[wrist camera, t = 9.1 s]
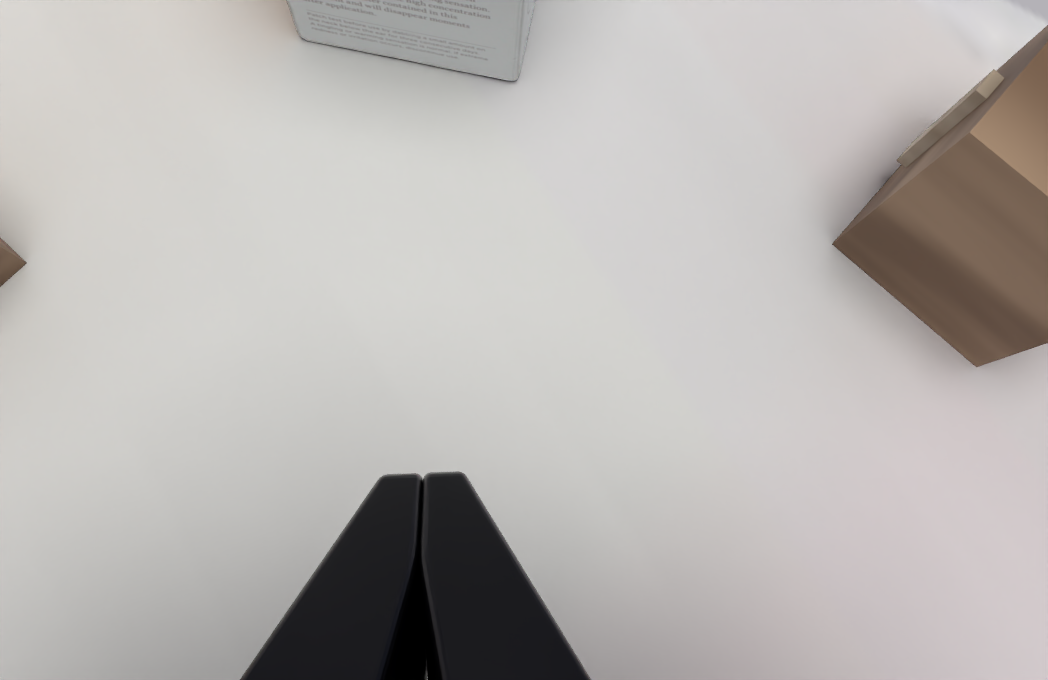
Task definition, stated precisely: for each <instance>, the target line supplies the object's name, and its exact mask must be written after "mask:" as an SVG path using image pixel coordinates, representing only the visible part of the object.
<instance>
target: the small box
mask: <svg viewBox="0 0 1048 680" xmlns="http://www.w3.org/2000/svg"><path fill="white" fill-rule="evenodd" d="M286 1H287V3H288V6H289V8H290V12H291V15H292V18H293V21H294V24H295V27H296V29H297V32H298V34H299V36H300V37H302V38H304V39H305V40H306V41H311V42H317V43H322V44H327V45H332V46H337V47H343V48H348V49H353V50H358V51H362V52H367V53H372V54H378V55H383V56H388V57H393V58H398V59H403V60H408V61H413V62H418V63H422V64H427V65H432V66H436V67H441V68H446V69H452V70H457V71H462V72H467V73H472V74H478V75H483V76H488V77H493V78H498V79H503V80H509V81H516V80H517V79H518V77H519V74H520V70H521V65H522V61H523V57H524V52H525V48H526V43H527V39H528V34H529V29H530V25H531V20H532V15H533V10H534V5H535V1H536V0H286Z"/></svg>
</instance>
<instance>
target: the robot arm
mask: <svg viewBox="0 0 1048 680" xmlns="http://www.w3.org/2000/svg"><path fill="white" fill-rule="evenodd" d="M427 677H428V680H591V679H590V677H589V676H588V674H587V672H586V671H585V669H584V667H583V666H582V664H581V662H580V661H579V659H578V658H577V656H576V654H575V653H574V651H573V649H572V648H571V646H570V645H569V643H568V641H567V640H566V638H565V636H564V635H563V633H562V631H561V630H560V628H559V627H558V625H557V623H556V622H555V620H554V618H553V617H552V615H551V613H550V612H549V610H548V609H547V607H546V605H545V604H544V602H543V600H542V599H541V597H540V596H539V594H538V592H537V591H536V589H535V587H534V586H533V584H532V582H531V581H530V579H529V578H528V576H527V574H526V573H525V571H524V569H523V568H522V566H521V564H520V563H519V561H518V560H517V558H516V556H515V555H514V553H513V551H512V550H511V548H510V547H509V545H508V543H507V542H506V540H505V538H504V537H503V535H502V533H501V532H500V530H499V529H498V527H497V525H496V524H495V522H494V520H493V519H492V517H491V515H490V514H489V512H488V511H487V509H486V507H485V506H484V504H483V502H482V501H481V499H480V497H479V496H478V494H477V493H476V491H475V489H474V488H473V486H472V484H471V483H470V481H469V480H468V478H467V477H466V475H465V474H464V473H462V472H437V473H428V474H426V475H425V476H424V478H423V479H422V477H421V476H420V475H419V474H416V473H412V474H387V475H383V476H382V477H380V478H379V480H378V481H377V482H376V484H375V485H374V487H373V488H372V489H371V491H370V492H369V494H368V495H367V497H366V498H365V500H364V501H363V502H362V504H361V505H360V507H359V508H358V510H357V511H356V513H355V514H354V516H353V517H352V518H351V520H350V521H349V523H348V524H347V526H346V527H345V529H344V530H343V531H342V533H341V534H340V536H339V537H338V539H337V540H336V542H335V543H334V544H333V546H332V547H331V549H330V550H329V552H328V553H327V555H326V556H325V557H324V559H323V560H322V562H321V563H320V565H319V566H318V568H317V569H316V571H315V572H314V573H313V575H312V576H311V578H310V579H309V581H308V582H307V584H306V585H305V586H304V588H303V589H302V591H301V592H300V594H299V595H298V597H297V598H296V599H295V601H294V602H293V604H292V605H291V607H290V608H289V610H288V611H287V612H286V614H285V615H284V617H283V618H282V620H281V621H280V623H279V624H278V626H277V627H276V628H275V630H274V631H273V633H272V634H271V636H270V637H269V639H268V640H267V641H266V643H265V644H264V646H263V647H262V649H261V650H260V652H259V653H258V654H257V656H256V657H255V659H254V660H253V662H252V663H251V665H250V666H249V667H248V669H247V670H246V672H245V673H244V675H243V676H242V678H241V679H240V680H427Z"/></svg>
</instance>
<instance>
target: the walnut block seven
mask: <svg viewBox="0 0 1048 680" xmlns="http://www.w3.org/2000/svg"><path fill="white" fill-rule="evenodd" d="M25 264H26V262H25V261H24V260H23V259H22V258H21V257H20V256H19V255H18V254H17V253H16V252H15V251H14V250H13V249H12V248H11V247H10V246H9V245H8V244H6V243H5V242H4V241H3V240H2V239H1V238H0V287H1V286H2V285H3V284H4V283H5V282H6V281H7V280H8V279H10V278H11V277H12V276H13V275H14V274H15V273H16V272H17V271H18V270H20V269H21V268H22V267H23V266H24V265H25Z"/></svg>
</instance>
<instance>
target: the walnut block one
mask: <svg viewBox="0 0 1048 680" xmlns="http://www.w3.org/2000/svg"><path fill="white" fill-rule="evenodd" d="M897 161H898V162H899V163H900V164H902V165H901V166H900V167H899V168H898V169H897V170H896V172H895V173H894V174H893V175H892V176H891V177H890V178H889V180H888V181H887V182H886V183H885V184H884V185H883V186H882V188H881V189H880V190H879V191H878V192H877V193H876V194H875V196H874V197H873V198H872V199H871V200H870V201H869V202H868V204H867V205H866V206H865V207H864V208H863V209H862V210H861V212H860V213H859V214H858V215H857V216H856V217H855V218H854V220H853V221H852V222H851V223H850V224H849V225H848V226H847V228H846V229H845V230H844V231H843V232H842V233H841V234H840V236H839V237H838V238H837V239H836V240H835V241H834V242H833V244H832V245H834V246H835V247H836V248H837V249H838V250H840V251H841V252H842V253H843V254H844V255H845V256H847V257H848V258H849V259H850V260H851V261H852V262H854V263H855V264H856V265H857V266H858V267H859V268H861V269H862V270H863V271H864V272H865V273H867V274H868V275H869V276H870V277H871V278H872V279H874V280H875V281H876V282H877V283H878V284H879V285H881V286H882V287H883V288H884V289H885V290H887V291H888V292H889V293H890V294H891V295H892V296H894V297H895V298H896V299H897V300H898V301H899V302H901V303H902V304H903V305H904V306H905V307H906V308H908V309H909V310H910V311H911V312H912V313H914V314H915V315H916V316H917V317H918V318H919V319H921V320H922V321H923V322H924V323H925V324H926V325H928V326H929V327H930V328H931V329H932V330H933V331H935V332H936V333H937V334H938V335H939V336H941V337H942V338H943V339H944V340H945V341H946V342H948V343H949V344H950V345H951V346H952V347H953V348H955V349H956V350H957V351H958V352H959V353H961V354H962V355H963V356H964V357H965V358H966V359H968V360H969V361H970V362H971V363H972V364H973V365H975V366H976V367H978V366H981V365H984V364H987V363H990V362H993V361H996V360H999V359H1002V358H1005V357H1008V356H1011V355H1013V354H1016V353H1019V352H1022V351H1025V350H1028V349H1031V348H1034V347H1037V346H1040V345H1043V344H1046V343H1048V25H1047V26H1046V27H1045V28H1044V29H1043V30H1042V31H1041V32H1040V33H1038V34H1037V35H1036V36H1035V37H1034V38H1033V39H1032V40H1031V41H1029V42H1028V43H1027V44H1026V45H1025V46H1024V47H1023V48H1022V49H1020V50H1019V51H1018V52H1017V53H1016V54H1015V55H1014V56H1013V57H1011V58H1010V59H1009V60H1008V61H1007V62H1006V63H1005V64H1004V65H1002V66H1001V67H1000V68H999V69H998V70H997V71H995V70H993V71H992V72H990V73H989V74H988V75H987V76H986V77H985V78H984V79H983V80H982V81H980V82H979V83H978V84H977V85H976V86H975V87H974V88H973V89H971V90H970V91H969V92H968V93H967V94H966V95H965V96H964V97H963V98H961V99H960V100H959V101H958V102H957V103H956V104H955V105H954V106H952V107H951V108H950V109H949V110H948V111H947V112H946V113H945V114H944V115H942V116H941V117H940V118H939V119H938V120H937V121H936V122H935V123H933V124H932V125H931V126H930V127H929V128H928V129H927V130H926V131H925V132H923V133H922V134H921V135H920V136H919V137H918V138H917V139H916V140H914V141H913V142H912V143H911V144H910V146H909V147H908V148H907V149H906V150H905V151H904V152H903V154H902V155H901V156H900V157H899V158H898V159H897Z"/></svg>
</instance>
